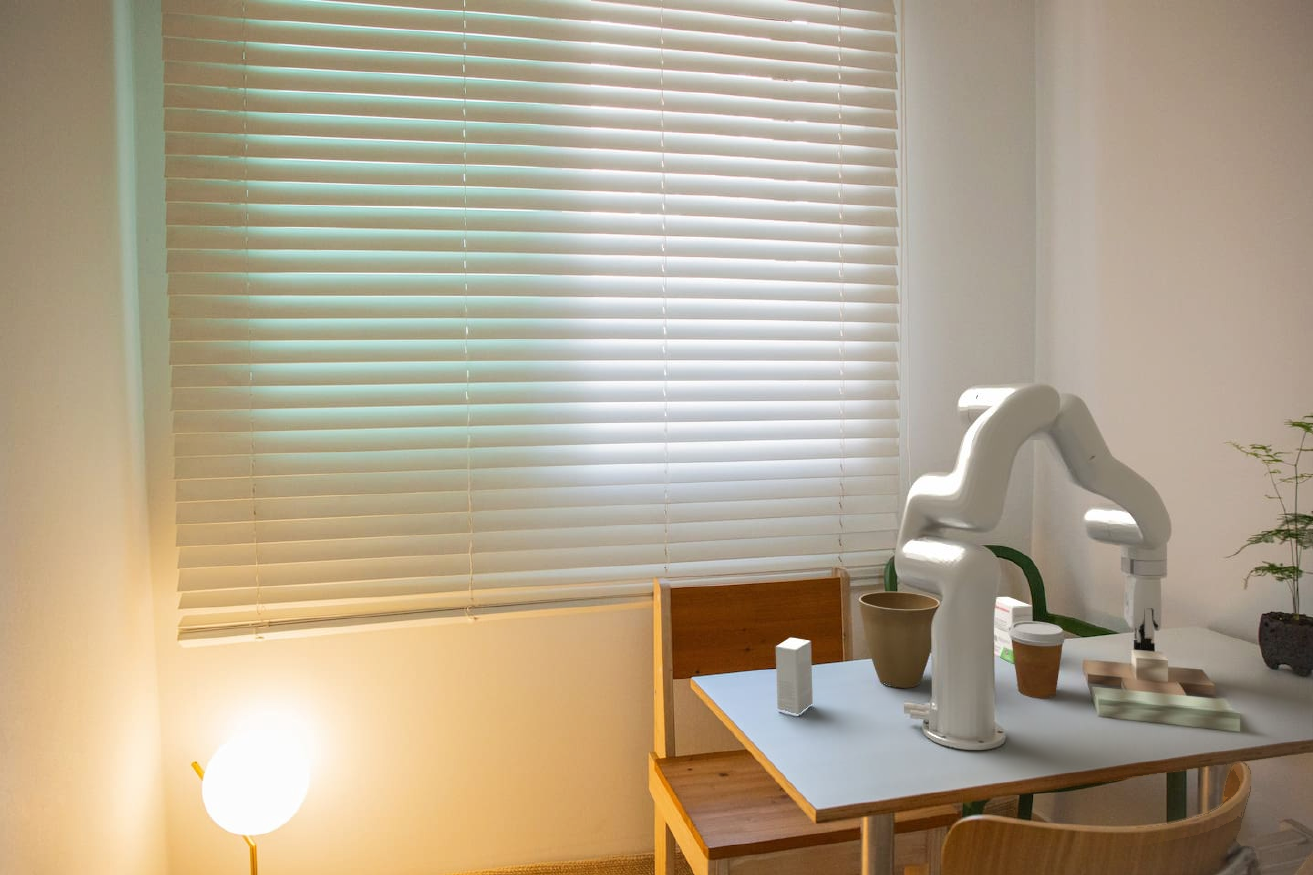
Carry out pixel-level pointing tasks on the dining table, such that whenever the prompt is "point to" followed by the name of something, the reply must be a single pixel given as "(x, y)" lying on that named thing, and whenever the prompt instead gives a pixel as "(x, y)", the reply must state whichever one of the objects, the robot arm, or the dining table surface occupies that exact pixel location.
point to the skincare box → (794, 675)
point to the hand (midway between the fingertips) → (1144, 661)
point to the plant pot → (898, 634)
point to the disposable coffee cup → (1037, 657)
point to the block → (1149, 665)
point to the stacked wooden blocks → (1158, 697)
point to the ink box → (1008, 624)
